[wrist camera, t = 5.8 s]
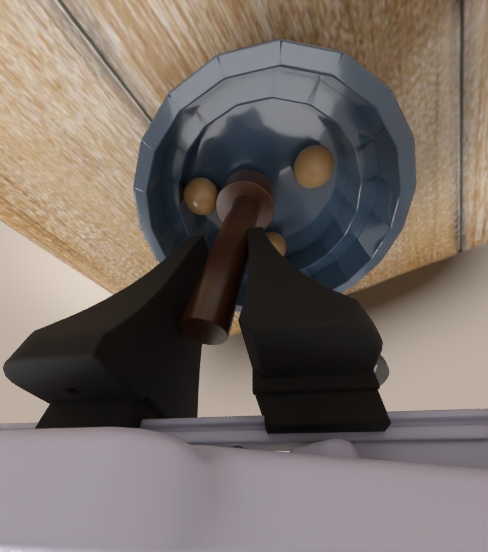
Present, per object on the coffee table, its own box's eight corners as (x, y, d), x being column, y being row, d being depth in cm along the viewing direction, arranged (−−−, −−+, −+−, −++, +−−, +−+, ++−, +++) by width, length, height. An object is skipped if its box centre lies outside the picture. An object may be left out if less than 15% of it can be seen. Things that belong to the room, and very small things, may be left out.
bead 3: (327, 178, 13) (337, 190, 11) (291, 183, 13) (297, 196, 12) (329, 137, 12) (341, 145, 10) (290, 145, 12) (296, 153, 10)
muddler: (250, 229, 15) (214, 363, 9) (211, 196, 13) (137, 324, 7) (287, 198, 13) (276, 342, 7) (246, 155, 12) (186, 284, 5)
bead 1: (231, 203, 13) (206, 227, 13) (212, 190, 14) (189, 212, 14) (216, 177, 11) (187, 204, 11) (196, 164, 12) (169, 189, 12)
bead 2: (285, 249, 16) (289, 266, 14) (257, 253, 16) (258, 270, 15) (283, 224, 15) (287, 240, 13) (253, 228, 15) (254, 244, 13)
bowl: (354, 260, 17) (380, 304, 14) (200, 278, 19) (188, 321, 15) (394, 24, 9) (479, -13, 6) (125, 90, 11) (67, 91, 7)
